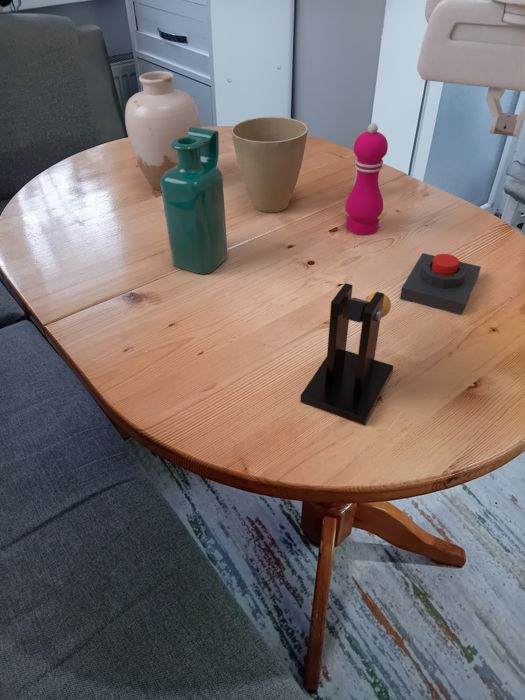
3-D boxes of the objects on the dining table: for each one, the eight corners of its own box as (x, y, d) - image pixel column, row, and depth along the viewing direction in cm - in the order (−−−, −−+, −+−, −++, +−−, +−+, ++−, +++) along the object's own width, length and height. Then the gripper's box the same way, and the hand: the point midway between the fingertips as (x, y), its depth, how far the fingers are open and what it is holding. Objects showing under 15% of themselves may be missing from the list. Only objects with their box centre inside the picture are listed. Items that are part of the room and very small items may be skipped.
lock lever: (365, 313, 77) (371, 289, 76) (389, 320, 76) (396, 295, 75) (335, 320, 64) (343, 291, 63) (363, 329, 63) (372, 299, 62)
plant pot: (318, 199, 116) (321, 123, 106) (281, 227, 107) (281, 147, 97) (260, 184, 123) (258, 111, 112) (221, 210, 113) (215, 133, 103)
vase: (176, 203, 116) (161, 90, 101) (122, 188, 123) (100, 80, 108) (219, 177, 126) (210, 70, 111) (166, 164, 133) (152, 62, 118)
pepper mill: (341, 234, 104) (349, 129, 91) (345, 217, 110) (354, 115, 97) (379, 238, 103) (393, 131, 90) (381, 220, 108) (395, 117, 95)
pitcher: (208, 277, 94) (195, 152, 80) (168, 266, 97) (148, 143, 83) (235, 251, 101) (228, 131, 86) (197, 241, 104) (183, 124, 89)
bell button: (435, 260, 90) (437, 251, 89) (459, 266, 88) (461, 256, 87) (428, 272, 87) (430, 262, 86) (453, 278, 86) (455, 268, 84)
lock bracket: (332, 353, 78) (340, 265, 68) (392, 372, 75) (409, 283, 65) (300, 402, 71) (303, 312, 61) (365, 425, 68) (379, 334, 58)
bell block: (420, 263, 96) (424, 243, 93) (478, 277, 92) (483, 257, 90) (399, 298, 88) (403, 278, 85) (461, 315, 84) (467, 294, 82)
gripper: (422, -24, 50) (400, 128, 59) (677, -14, 42) (607, 159, 52) (439, -32, 54) (416, 111, 63) (675, -24, 47) (611, 138, 56)
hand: (504, 133), depth 57 cm, fingers closed
